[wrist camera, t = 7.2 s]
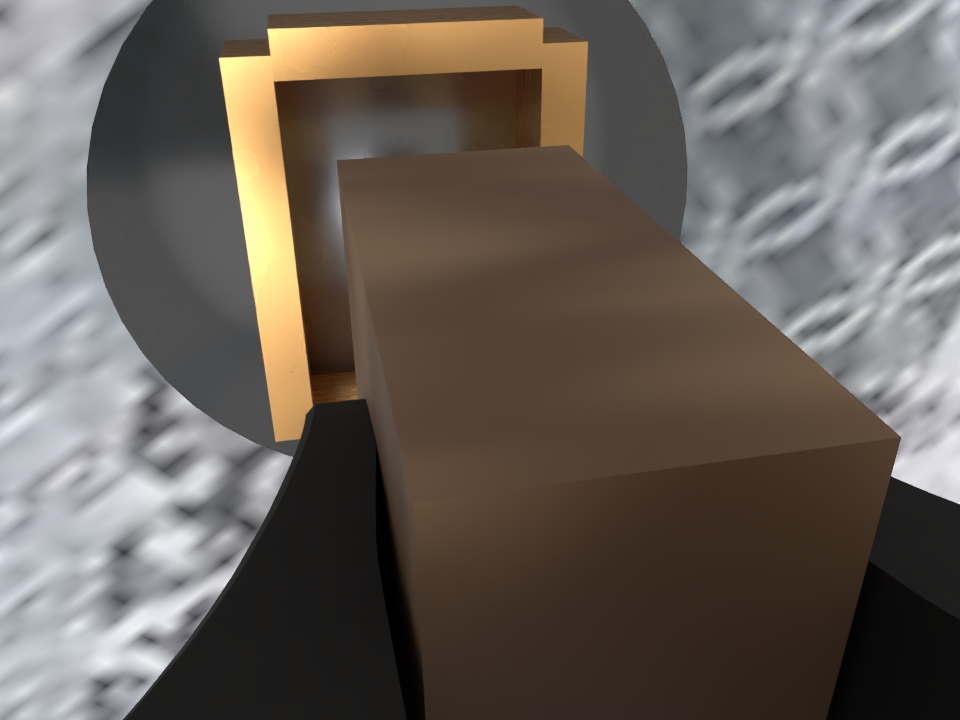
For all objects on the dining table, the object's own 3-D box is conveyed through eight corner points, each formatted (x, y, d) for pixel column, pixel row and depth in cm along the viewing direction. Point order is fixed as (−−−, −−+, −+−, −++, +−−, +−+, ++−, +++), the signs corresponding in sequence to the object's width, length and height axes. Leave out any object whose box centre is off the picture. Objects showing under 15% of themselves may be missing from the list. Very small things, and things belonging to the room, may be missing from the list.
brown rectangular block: (568, 144, 11) (901, 437, 5) (556, 460, 14) (775, 908, 8) (335, 160, 11) (412, 503, 5) (365, 485, 13) (441, 987, 7)
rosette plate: (705, -118, 16) (768, -118, 14) (651, 423, 22) (690, 479, 20) (18, -110, 14) (-25, -109, 12) (156, 485, 20) (143, 553, 18)
